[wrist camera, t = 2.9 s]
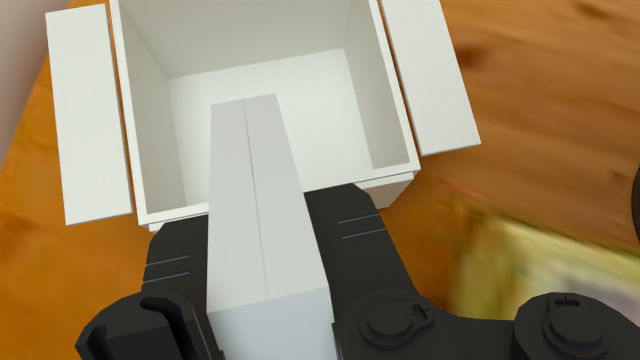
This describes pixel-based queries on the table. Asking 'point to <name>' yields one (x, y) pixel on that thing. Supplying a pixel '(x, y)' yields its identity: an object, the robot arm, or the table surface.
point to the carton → (248, 96)
